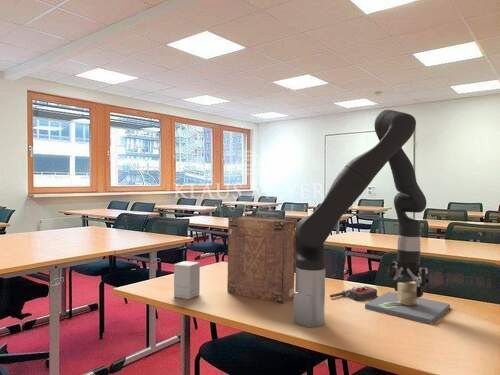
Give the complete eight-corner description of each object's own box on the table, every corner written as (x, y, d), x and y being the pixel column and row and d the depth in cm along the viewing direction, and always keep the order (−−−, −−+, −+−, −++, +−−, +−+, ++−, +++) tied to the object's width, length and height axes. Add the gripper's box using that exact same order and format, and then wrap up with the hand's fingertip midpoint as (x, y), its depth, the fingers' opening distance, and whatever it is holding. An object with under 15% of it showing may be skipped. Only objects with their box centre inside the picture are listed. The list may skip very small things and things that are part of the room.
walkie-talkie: (362, 291, 155) (327, 299, 143) (362, 281, 155) (328, 287, 143) (380, 297, 147) (345, 305, 136) (380, 285, 147) (345, 293, 136)
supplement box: (200, 294, 145) (200, 262, 145) (189, 299, 139) (189, 266, 138) (184, 292, 148) (184, 260, 148) (173, 297, 142) (173, 263, 142)
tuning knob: (410, 299, 137) (410, 280, 137) (422, 304, 131) (422, 284, 131) (378, 302, 133) (378, 282, 133) (389, 307, 127) (389, 286, 127)
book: (226, 292, 150) (227, 217, 149) (239, 286, 157) (241, 215, 157) (282, 303, 136) (284, 221, 135) (294, 297, 143) (295, 219, 143)
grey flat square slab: (431, 324, 118) (431, 319, 118) (364, 308, 132) (365, 303, 132) (449, 308, 134) (450, 303, 134) (389, 295, 149) (389, 291, 149)
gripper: (434, 250, 129) (433, 297, 129) (397, 244, 141) (397, 287, 141) (421, 252, 125) (420, 300, 125) (385, 246, 137) (384, 290, 137)
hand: (407, 293), depth 133 cm, fingers open, 8 cm apart
